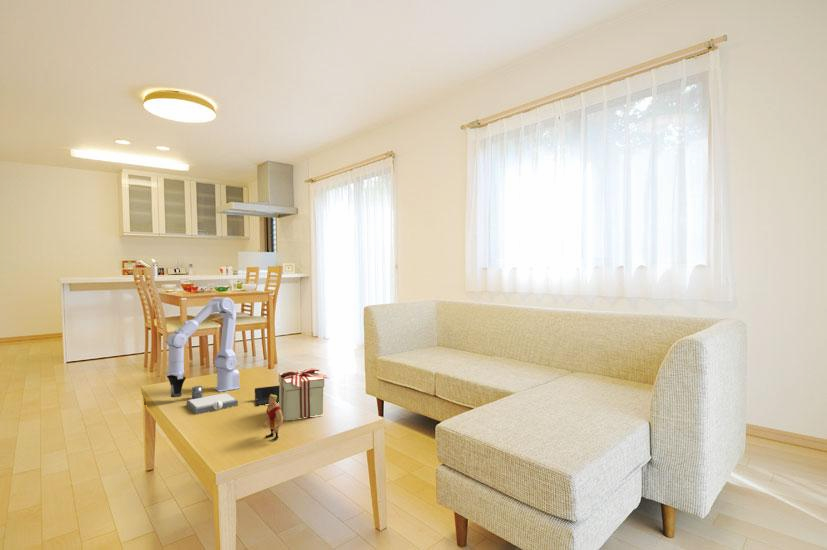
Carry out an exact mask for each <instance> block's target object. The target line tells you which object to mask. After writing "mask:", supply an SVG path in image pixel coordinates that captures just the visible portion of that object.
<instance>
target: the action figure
mask: <svg viewBox="0 0 827 550" xmlns="http://www.w3.org/2000/svg"><path fill="white" fill-rule="evenodd" d="M276 398H277V396H276V395H272V394H270V396H269V405H267V407H266V410H265V411H266V415H265V420H264V422H263V426H262V428H263V429H267V428H269V430H270V434H267V435H265V436H266V437H265V438H268V437H267V436H270V437H273V438H272V439H271V441H272V440H275V439H277V438H278V439H279V436H278V435H279V430H280V427H281V425H282V424H283V422H284V417H283V416H282V412H281V408H280V407H279V404H277V403H276ZM276 419H277V420H278V421H277V425H276ZM268 421H269V427H268ZM273 435H274V436H273ZM278 439H277V440H278ZM275 441H276V440H275Z"/></svg>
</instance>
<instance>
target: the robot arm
mask: <svg viewBox="0 0 827 550" xmlns="http://www.w3.org/2000/svg"><path fill="white" fill-rule="evenodd" d="M213 313H214V314H215V313H219V314H220V315H221V316H222V318H223V322H222V332H221V340H220V346H219V347H220V348H219V351H218V352H217V353H216V356H215V358H214V361H213V366H214V368H216V386H215V387H214V388H213V389H215V390H216V391H217V392H219V393H221V392H227V391H232V390H238V389H240V372H239V369H238V368H236V367H237V365H238V361H237V358H236V356H237V355H236V353H235V351H234V343H235V341H234V339H235V333H236V332H235V331H236V321H237V311H236V308H235V301H233V300H232V299H231V298H230V297H220V296H214V297H212V298H211V299H210V300H208V301H207V303H206V305H205V306H204V307H203V308H202V309H201V310H200V311H199V312H198V313H197V314H196V316H195V317H194V318H192V319H188V320H185V321H183V322H182V323H183V324H182V325H181V326H179V328H177V329H175V331H174V332H172V333H170V334H169V335H168V336H167V338H166V340H165V344H166V345H167V346H168V371H166V372H165V373H164V374H165V375H167V376H166V378H167V379H168V381H169V384H170V386H171V384H173V389H174V393H175V394H180V393H181V390H183V385H184V382H185V380H186V378H187V377H186V376H184V373H185V346H186V344H187V343H188V340H189V338H190V337H191V336H193V334H194V333H195V332H196V331H197V330H199V325H200V324H201V323H202V322H203V321H205V320H206V319H208V317H210V315H212V314H213Z"/></svg>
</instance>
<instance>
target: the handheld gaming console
mask: <svg viewBox="0 0 827 550" xmlns="http://www.w3.org/2000/svg"><path fill="white" fill-rule="evenodd" d="M279 387H280V385H272V386H262V387H256V388H255V387H254V403H255V406H256V407H260V406H259V405H264V406H266V405H265V404H269V396H270V394H272V395H276V396H277V398H276V403H278V402H279Z"/></svg>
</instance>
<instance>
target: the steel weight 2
mask: <svg viewBox="0 0 827 550" xmlns="http://www.w3.org/2000/svg"><path fill="white" fill-rule="evenodd" d="M202 397H203V386H202V385H195V386H192V387H191V399H197V398H202Z"/></svg>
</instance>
